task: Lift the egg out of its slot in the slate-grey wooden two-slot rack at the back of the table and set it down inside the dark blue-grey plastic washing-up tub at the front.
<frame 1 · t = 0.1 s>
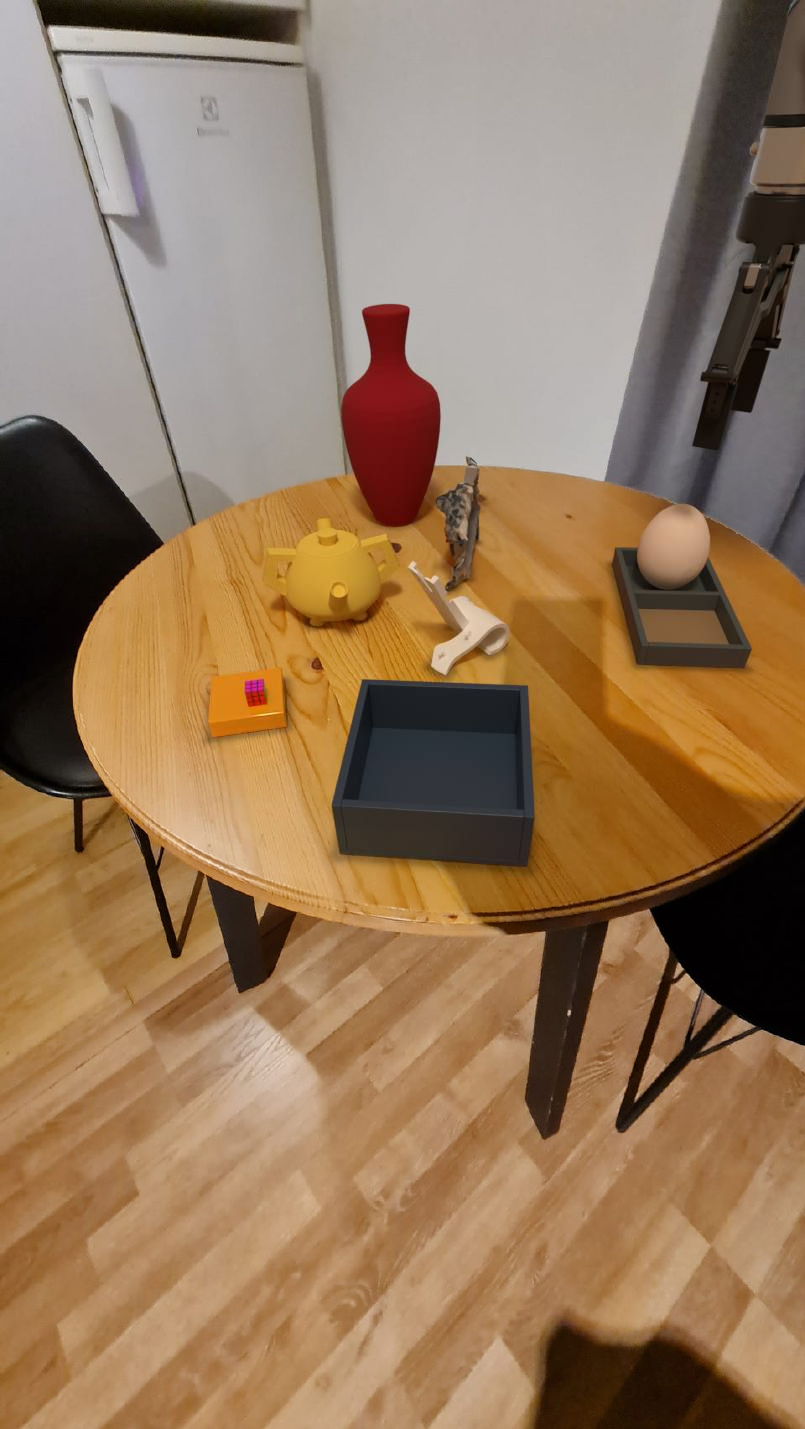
hand: (723, 428, 74), 21 cm above the table, tool pointing down, fingers open, 13 cm apart
teapot: (336, 608, 89), on the table
grey mottled upright piece: (458, 566, 96), on the table
tub: (438, 789, 64), on the table
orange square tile: (250, 709, 74), on the table
vase: (396, 519, 108), on the table
plastic part: (459, 648, 81), on the table
egg: (663, 587, 89), resting on rack
rack: (670, 610, 85), on the table
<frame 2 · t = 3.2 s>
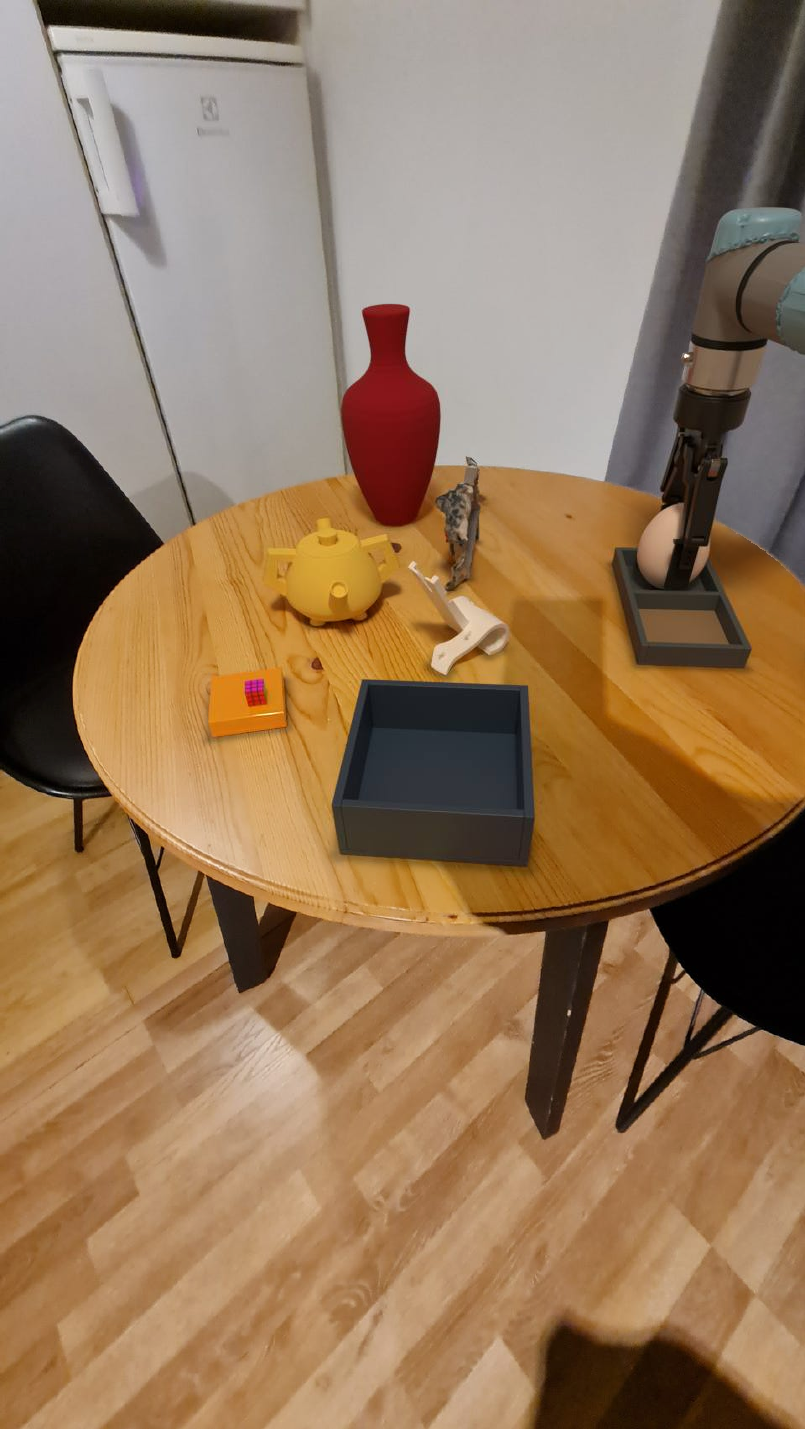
hand: (668, 568, 87), 3 cm above the table, tool pointing down, fingers open, 9 cm apart
egg: (663, 587, 89), resting on rack, touching gripper
everything else where it was.
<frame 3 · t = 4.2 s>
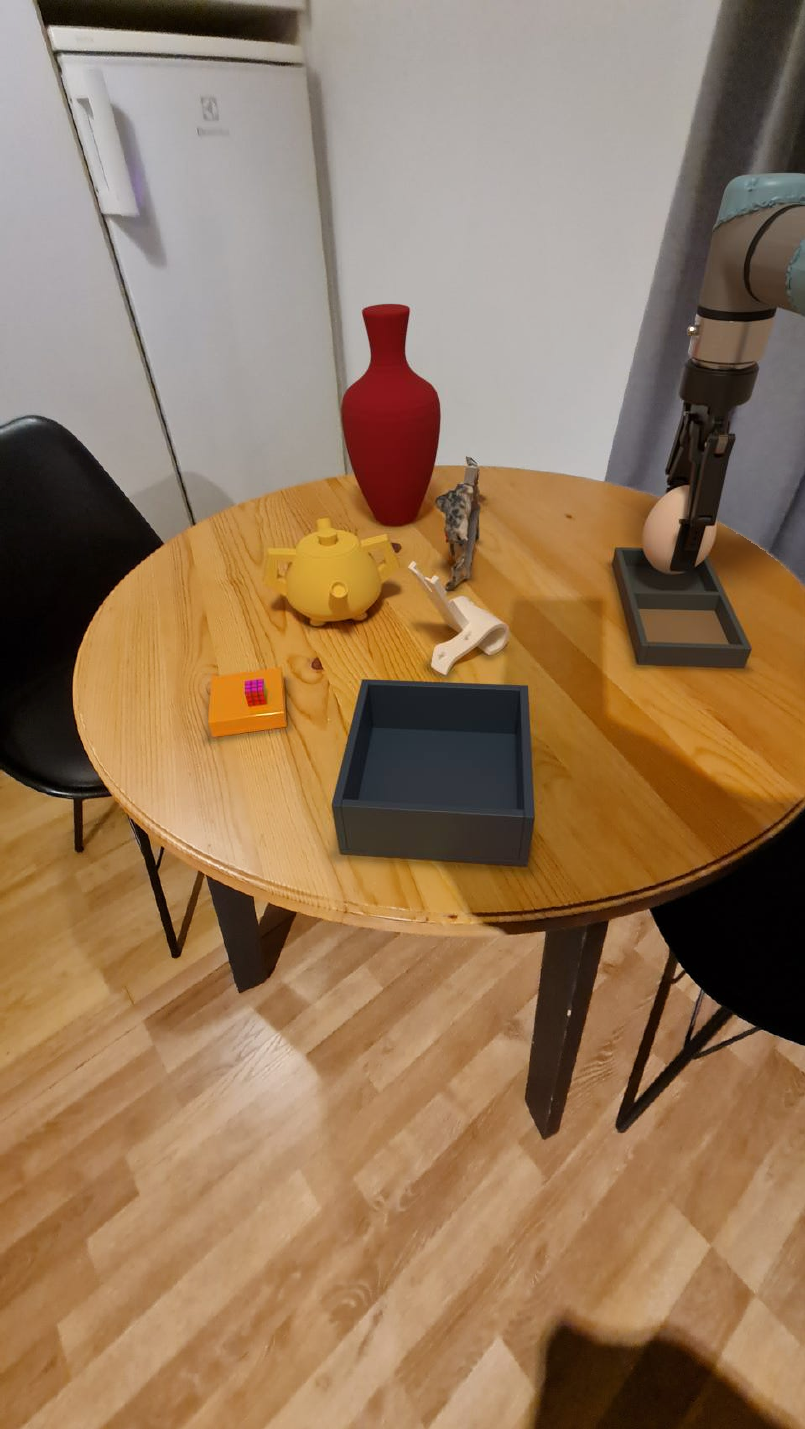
hand: (673, 552, 85), 6 cm above the table, tool pointing down, fingers closed on egg, 9 cm apart
egg: (668, 572, 87), point 3 cm above the table, touching gripper
everything else where it was.
when the fingers open (4 cm above the table, at t = 12.6 s): egg stays where it is, resting on tub.
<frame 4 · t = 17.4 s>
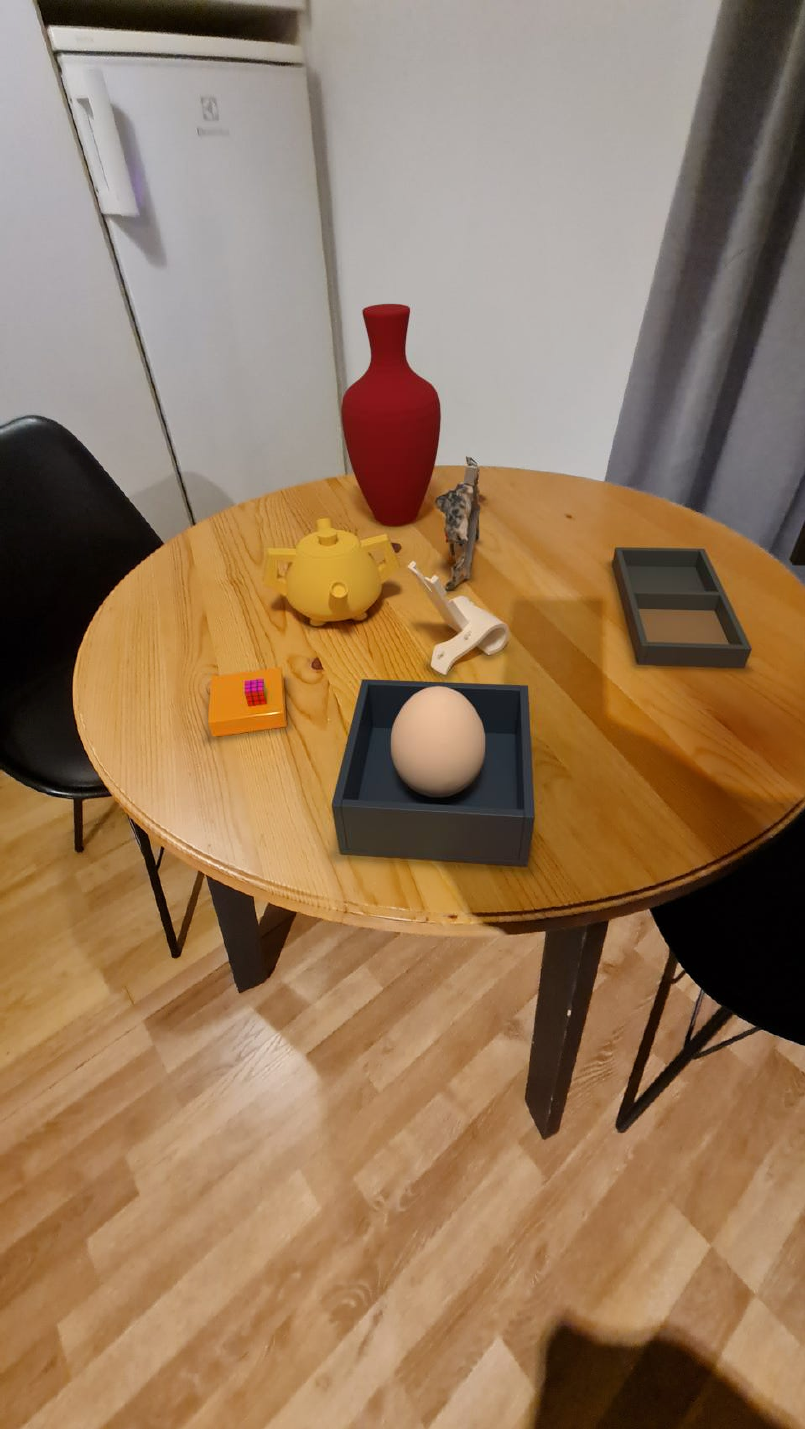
egg: (438, 785, 63), point 1 cm above the table, touching tub
everything else where it was.
at the end: egg inside the target area in the tub (0.0 cm from its centre), point 0.6 cm above the tub's base; the gripper is holding nothing; egg moved 47.6 cm from its start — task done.
